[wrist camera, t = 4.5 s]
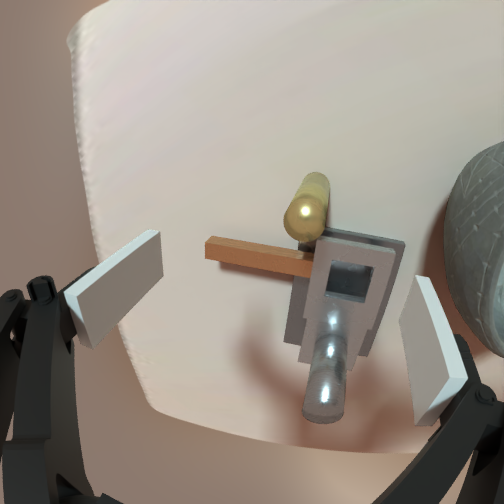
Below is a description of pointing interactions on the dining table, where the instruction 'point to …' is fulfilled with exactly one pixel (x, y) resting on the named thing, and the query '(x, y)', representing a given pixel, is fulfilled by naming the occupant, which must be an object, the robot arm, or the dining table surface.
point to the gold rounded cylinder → (308, 208)
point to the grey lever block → (326, 303)
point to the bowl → (478, 246)
